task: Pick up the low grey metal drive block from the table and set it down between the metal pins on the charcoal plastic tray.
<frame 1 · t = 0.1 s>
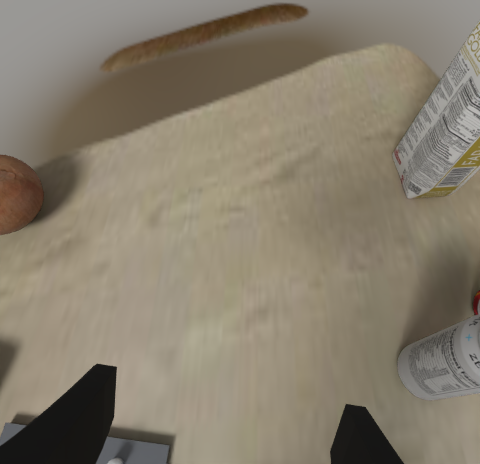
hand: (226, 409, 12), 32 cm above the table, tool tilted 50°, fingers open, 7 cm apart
energy drink can: (419, 372, 45), on the table
onion: (16, 216, 50), on the table
juice carton: (418, 176, 57), on the table
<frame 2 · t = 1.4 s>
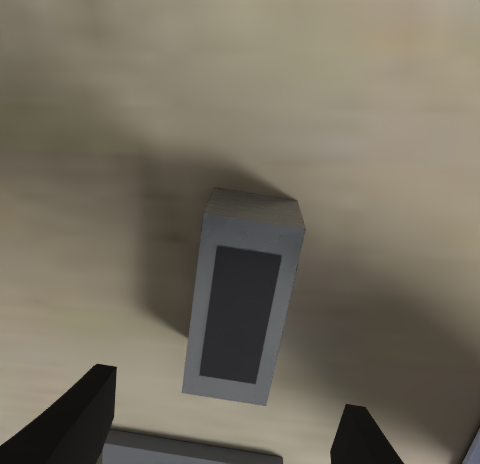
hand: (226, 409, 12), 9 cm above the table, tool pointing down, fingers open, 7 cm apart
drive: (242, 275, 21), on the table
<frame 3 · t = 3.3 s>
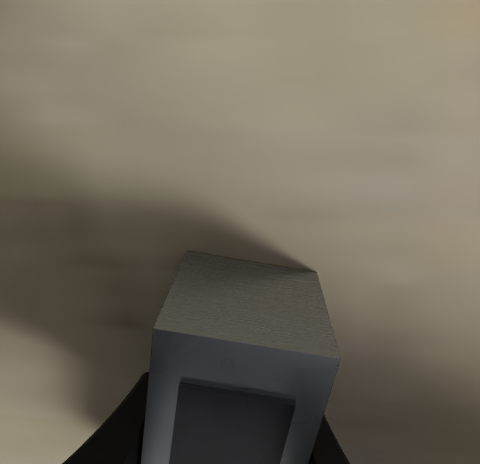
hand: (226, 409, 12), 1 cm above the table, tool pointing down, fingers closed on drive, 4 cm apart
drive: (230, 377, 14), on the table, touching gripper
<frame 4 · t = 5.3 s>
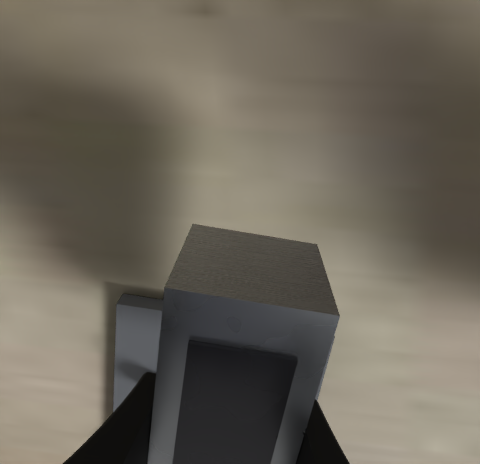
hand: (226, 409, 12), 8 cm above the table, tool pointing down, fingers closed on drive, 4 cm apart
drive: (233, 348, 14), point 6 cm above the table, touching gripper
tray: (210, 423, 24), on the table
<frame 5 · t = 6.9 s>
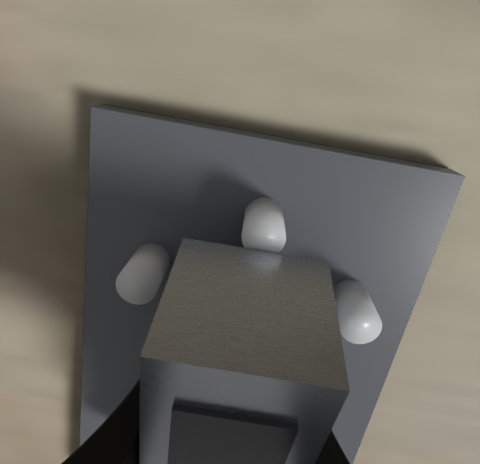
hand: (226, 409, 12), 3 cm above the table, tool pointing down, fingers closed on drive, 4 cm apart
drive: (234, 357, 13), point 2 cm above the table, tilted 12°, touching gripper, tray
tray: (235, 344, 15), on the table
when the fingers open (3 cm above the table, at t = 7.8 s): drive stays where it is, resting on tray.
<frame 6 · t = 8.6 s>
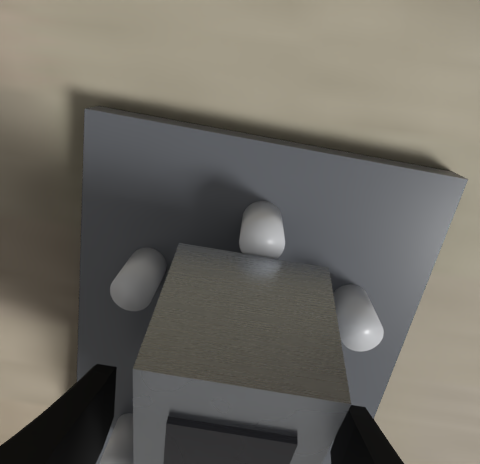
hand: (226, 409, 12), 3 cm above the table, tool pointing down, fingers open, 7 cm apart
drive: (231, 364, 13), point 2 cm above the table, tilted 12°, touching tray
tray: (233, 350, 15), on the table
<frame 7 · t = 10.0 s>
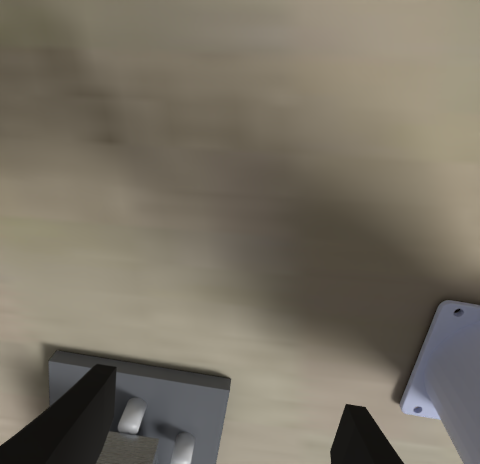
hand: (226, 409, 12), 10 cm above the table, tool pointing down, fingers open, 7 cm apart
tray: (136, 456, 28), on the table
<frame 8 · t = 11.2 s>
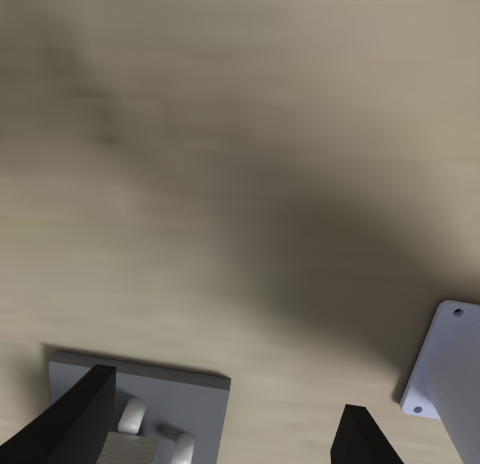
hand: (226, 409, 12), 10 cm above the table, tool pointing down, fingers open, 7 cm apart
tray: (136, 456, 28), on the table
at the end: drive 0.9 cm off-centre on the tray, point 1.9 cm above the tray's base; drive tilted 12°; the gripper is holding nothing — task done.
